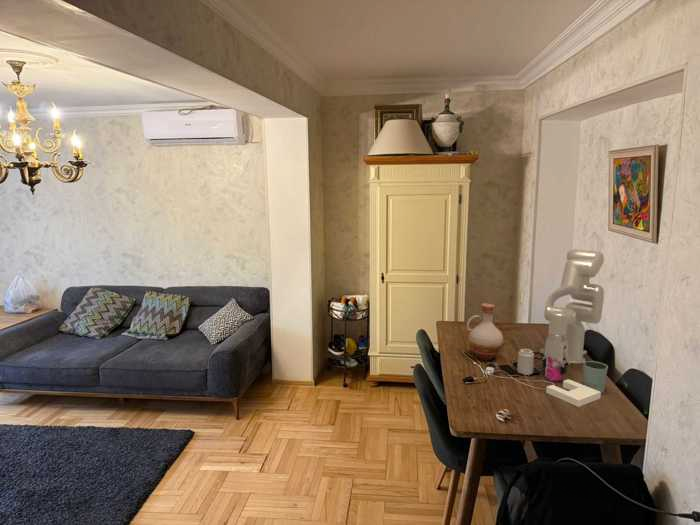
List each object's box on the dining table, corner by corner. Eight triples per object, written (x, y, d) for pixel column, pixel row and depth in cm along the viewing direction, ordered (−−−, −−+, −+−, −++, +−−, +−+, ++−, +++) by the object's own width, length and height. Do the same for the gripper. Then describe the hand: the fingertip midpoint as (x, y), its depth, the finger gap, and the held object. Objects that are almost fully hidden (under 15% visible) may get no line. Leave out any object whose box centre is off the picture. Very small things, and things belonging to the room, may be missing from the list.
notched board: (568, 385, 226) (568, 379, 226) (600, 398, 213) (600, 391, 212) (546, 392, 218) (546, 386, 218) (578, 407, 205) (578, 400, 204)
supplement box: (544, 376, 236) (546, 354, 234) (556, 376, 236) (557, 354, 234) (550, 381, 230) (552, 359, 228) (562, 381, 231) (564, 358, 229)
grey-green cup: (596, 395, 216) (598, 370, 213) (576, 387, 224) (578, 362, 222) (610, 391, 220) (612, 366, 218) (590, 382, 229) (592, 359, 227)
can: (532, 371, 243) (534, 348, 241) (533, 377, 236) (534, 353, 234) (517, 369, 245) (518, 347, 243) (517, 375, 238) (518, 352, 236)
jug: (462, 360, 257) (464, 306, 251) (467, 349, 273) (469, 298, 268) (500, 365, 250) (503, 310, 244) (503, 354, 266) (506, 302, 261)
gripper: (578, 340, 224) (574, 375, 227) (546, 330, 239) (543, 363, 242) (568, 343, 220) (565, 378, 223) (536, 333, 235) (534, 366, 238)
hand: (554, 370), depth 232 cm, fingers open, 9 cm apart
